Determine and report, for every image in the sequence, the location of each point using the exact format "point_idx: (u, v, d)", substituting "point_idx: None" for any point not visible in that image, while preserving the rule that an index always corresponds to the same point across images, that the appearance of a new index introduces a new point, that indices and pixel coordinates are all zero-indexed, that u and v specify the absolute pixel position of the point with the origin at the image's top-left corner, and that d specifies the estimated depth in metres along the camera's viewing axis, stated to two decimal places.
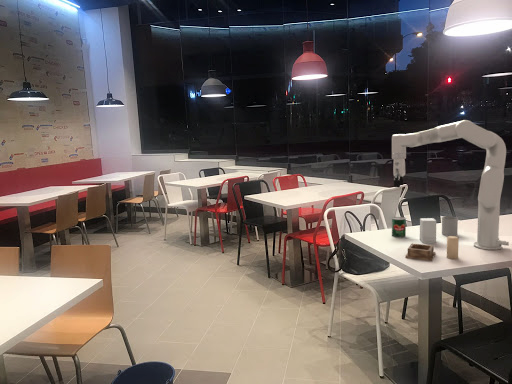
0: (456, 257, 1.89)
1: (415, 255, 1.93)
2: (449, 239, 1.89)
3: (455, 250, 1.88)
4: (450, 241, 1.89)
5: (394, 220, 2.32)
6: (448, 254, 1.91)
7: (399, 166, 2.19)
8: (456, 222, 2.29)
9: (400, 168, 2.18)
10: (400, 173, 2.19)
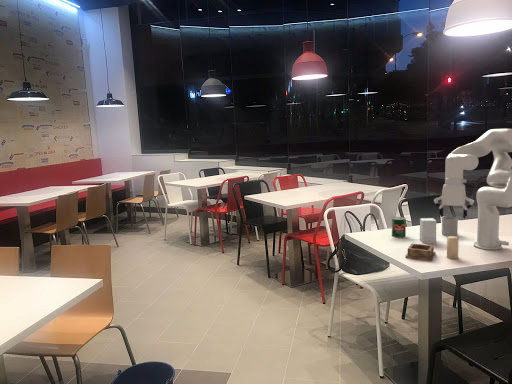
0: (456, 257, 1.89)
1: (415, 255, 1.93)
2: (449, 239, 1.89)
3: (455, 250, 1.88)
4: (450, 241, 1.89)
5: (394, 220, 2.32)
6: (448, 254, 1.91)
7: (465, 193, 1.86)
8: (456, 222, 2.29)
9: (465, 195, 1.86)
10: (465, 201, 1.87)
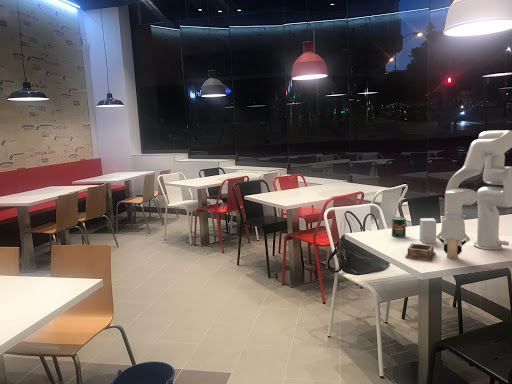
0: (456, 257, 1.89)
1: (415, 255, 1.93)
2: (449, 239, 1.89)
3: (455, 250, 1.88)
4: (450, 241, 1.89)
5: (394, 220, 2.32)
6: (448, 254, 1.91)
7: (464, 227, 1.88)
8: None
9: None
10: None
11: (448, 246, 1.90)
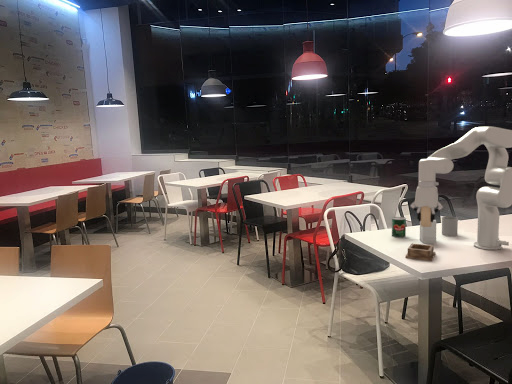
0: (429, 225, 1.91)
1: (415, 255, 1.93)
2: (422, 207, 1.91)
3: (428, 218, 1.90)
4: (424, 208, 1.90)
5: (394, 220, 2.32)
6: (421, 222, 1.92)
7: (437, 195, 1.90)
8: (456, 222, 2.29)
9: None
10: None
11: (421, 214, 1.92)
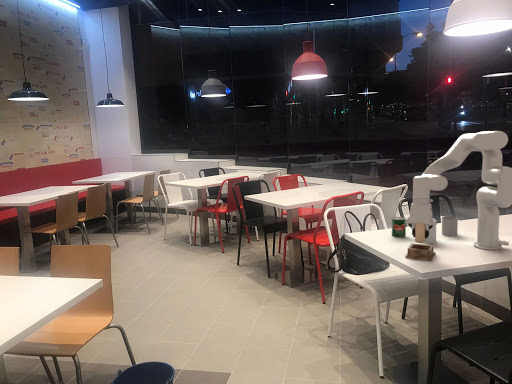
0: (423, 241, 1.93)
1: (415, 255, 1.93)
2: (417, 223, 1.93)
3: (422, 234, 1.92)
4: (418, 225, 1.92)
5: (394, 220, 2.32)
6: (416, 238, 1.94)
7: None
8: (456, 222, 2.29)
9: None
10: None
11: (416, 230, 1.94)
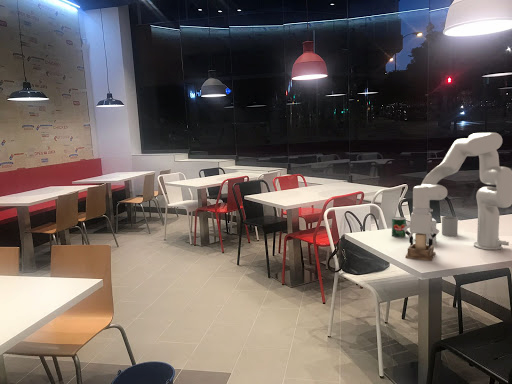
0: None
1: (415, 255, 1.93)
2: (417, 236, 1.94)
3: (422, 246, 1.93)
4: (418, 237, 1.93)
5: (394, 220, 2.32)
6: None
7: None
8: (456, 222, 2.29)
9: None
10: None
11: (416, 243, 1.95)
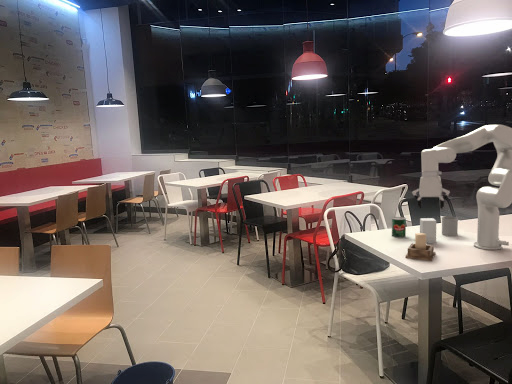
0: None
1: (415, 255, 1.93)
2: (417, 236, 1.94)
3: (422, 246, 1.93)
4: (418, 237, 1.93)
5: (394, 220, 2.32)
6: None
7: (441, 184, 1.94)
8: (456, 222, 2.29)
9: (441, 186, 1.95)
10: None
11: (416, 243, 1.95)
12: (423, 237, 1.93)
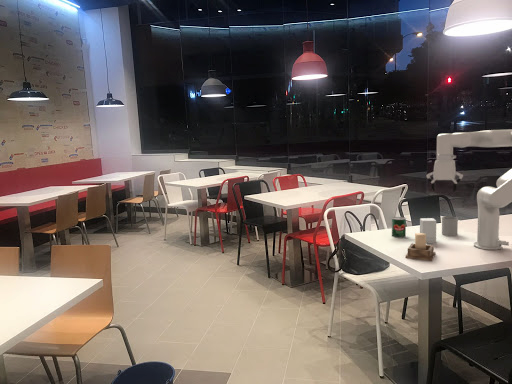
0: None
1: (415, 255, 1.93)
2: (417, 236, 1.94)
3: (422, 246, 1.93)
4: (418, 237, 1.93)
5: (394, 220, 2.32)
6: None
7: None
8: (456, 222, 2.29)
9: None
10: (455, 175, 2.02)
11: (416, 243, 1.95)
12: (423, 237, 1.93)
